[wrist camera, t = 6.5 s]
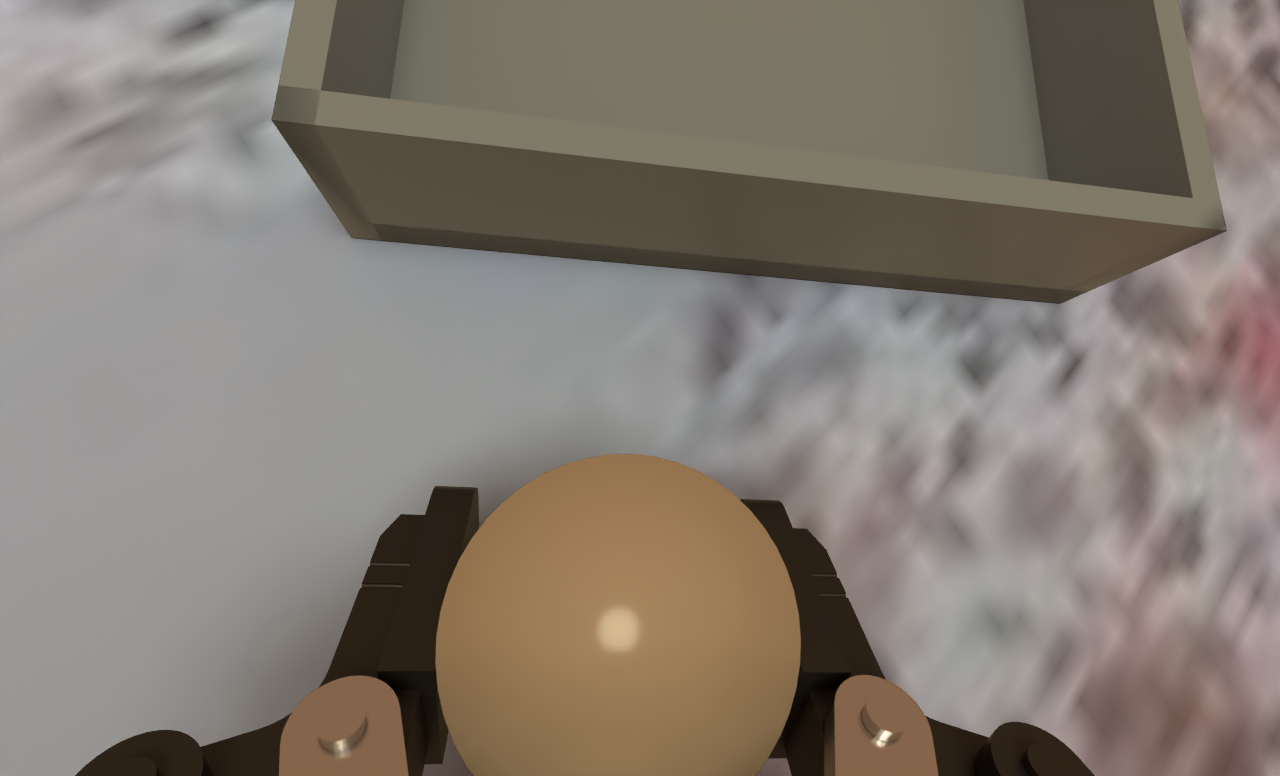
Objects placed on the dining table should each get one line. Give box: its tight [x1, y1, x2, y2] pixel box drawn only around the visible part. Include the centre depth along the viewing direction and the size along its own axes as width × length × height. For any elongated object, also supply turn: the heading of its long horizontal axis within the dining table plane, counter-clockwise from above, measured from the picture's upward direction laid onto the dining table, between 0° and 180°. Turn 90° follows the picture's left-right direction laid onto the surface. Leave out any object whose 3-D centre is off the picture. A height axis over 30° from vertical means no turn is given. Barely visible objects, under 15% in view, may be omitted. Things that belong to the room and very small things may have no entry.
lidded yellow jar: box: [435, 454, 801, 776], centre depth 12 cm, size 5×5×8 cm
